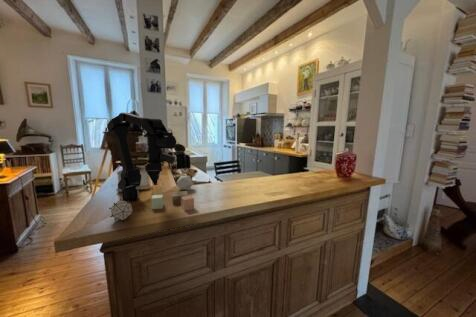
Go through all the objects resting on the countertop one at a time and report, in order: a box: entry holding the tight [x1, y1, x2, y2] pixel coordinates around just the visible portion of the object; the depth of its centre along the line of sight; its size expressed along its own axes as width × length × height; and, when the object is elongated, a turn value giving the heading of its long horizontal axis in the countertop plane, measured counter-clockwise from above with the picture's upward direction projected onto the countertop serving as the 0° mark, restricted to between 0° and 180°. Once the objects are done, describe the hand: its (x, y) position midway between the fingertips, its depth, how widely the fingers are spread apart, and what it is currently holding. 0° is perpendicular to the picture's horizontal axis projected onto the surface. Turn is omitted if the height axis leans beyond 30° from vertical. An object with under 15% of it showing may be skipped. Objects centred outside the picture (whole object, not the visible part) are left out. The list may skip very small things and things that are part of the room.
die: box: [176, 175, 194, 191], centre depth 117 cm, size 8×9×10 cm
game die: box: [108, 197, 136, 223], centre depth 78 cm, size 9×8×10 cm
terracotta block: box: [180, 195, 195, 212], centre depth 91 cm, size 4×4×5 cm
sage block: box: [150, 194, 164, 210], centre depth 92 cm, size 4×4×5 cm
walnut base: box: [171, 190, 189, 205], centre depth 99 cm, size 7×7×4 cm
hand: (156, 182), depth 90 cm, fingers open, 9 cm apart
